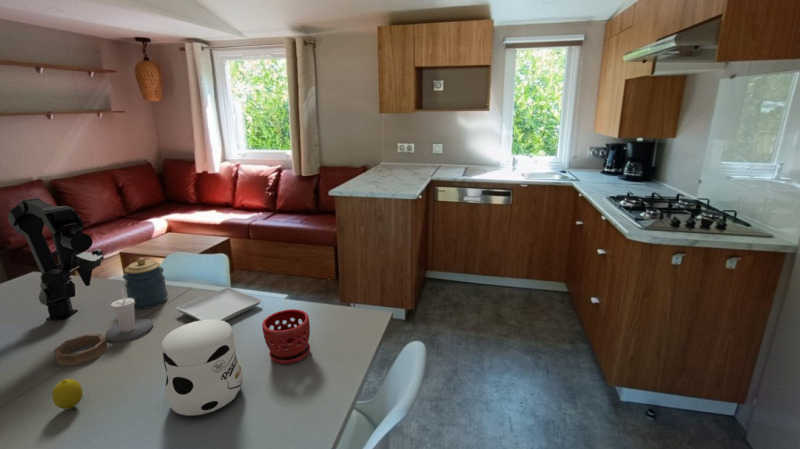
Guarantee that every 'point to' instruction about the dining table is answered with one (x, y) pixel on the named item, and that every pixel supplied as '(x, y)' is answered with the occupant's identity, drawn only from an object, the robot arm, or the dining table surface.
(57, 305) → the robot arm
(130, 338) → the rubber mat
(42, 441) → the dining table surface
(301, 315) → the plant pot
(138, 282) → the canister
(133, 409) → the dining table surface
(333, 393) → the dining table surface
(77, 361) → the brown octagonal holder
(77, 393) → the lemon
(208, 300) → the salad plate
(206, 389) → the milk container
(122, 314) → the smoothie
